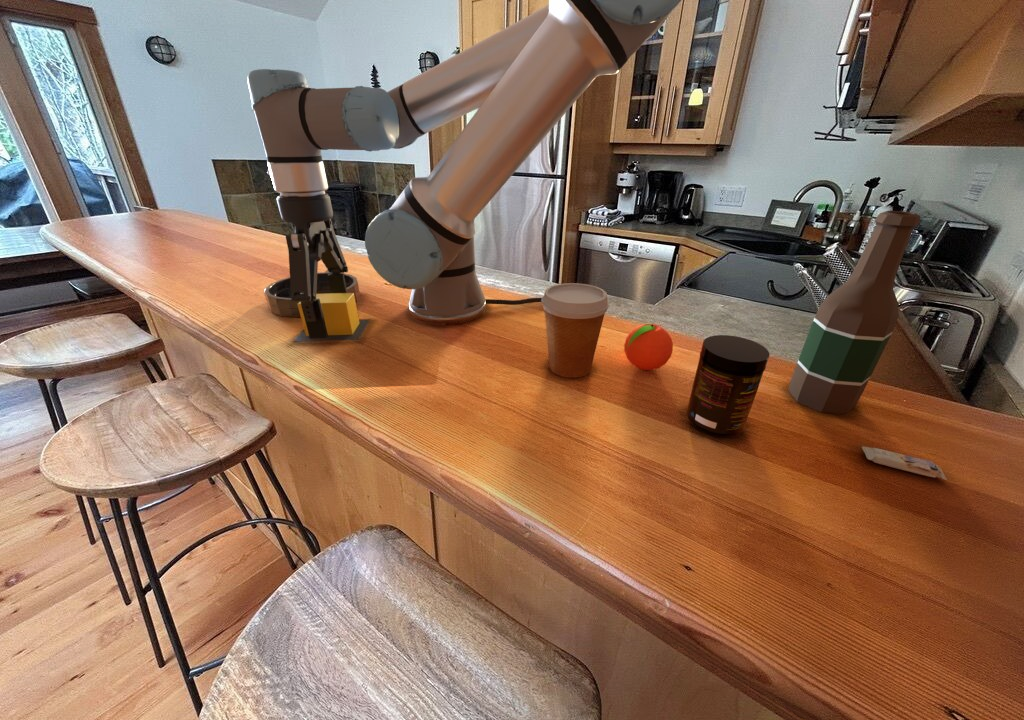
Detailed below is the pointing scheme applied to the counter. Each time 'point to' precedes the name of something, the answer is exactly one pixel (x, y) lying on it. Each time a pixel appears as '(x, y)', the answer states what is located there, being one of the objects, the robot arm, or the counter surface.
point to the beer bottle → (854, 323)
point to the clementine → (648, 346)
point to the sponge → (336, 313)
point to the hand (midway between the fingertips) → (331, 321)
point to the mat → (355, 336)
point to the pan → (284, 306)
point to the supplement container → (725, 384)
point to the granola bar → (904, 462)
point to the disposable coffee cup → (573, 326)
